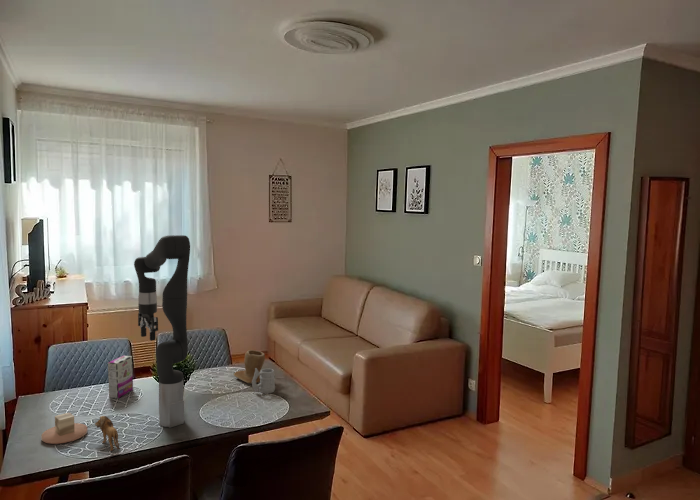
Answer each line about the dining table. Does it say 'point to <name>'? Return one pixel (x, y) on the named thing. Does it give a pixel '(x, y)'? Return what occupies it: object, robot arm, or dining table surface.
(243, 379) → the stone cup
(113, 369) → the candy bar box
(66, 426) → the birch block
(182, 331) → the robot arm
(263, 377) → the mug
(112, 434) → the lion figurine
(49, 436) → the dish
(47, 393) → the dining table surface
